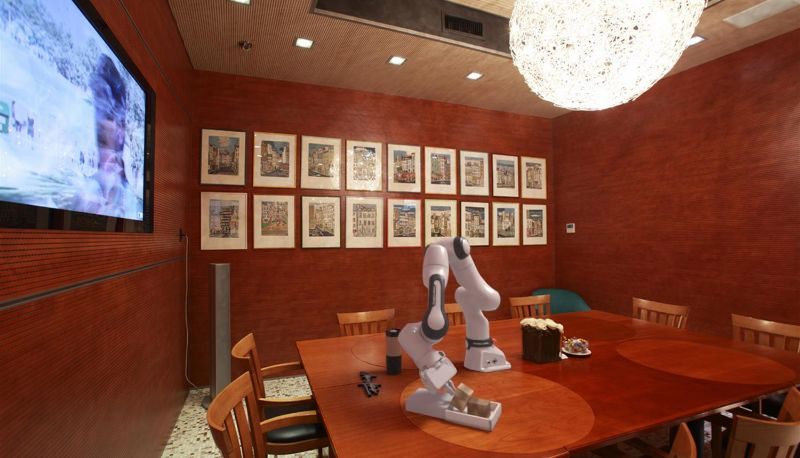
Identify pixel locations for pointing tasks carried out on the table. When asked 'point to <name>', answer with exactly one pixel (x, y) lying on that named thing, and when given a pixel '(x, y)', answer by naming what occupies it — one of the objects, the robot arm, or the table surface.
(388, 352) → the travel mug
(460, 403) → the oak block
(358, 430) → the table surface
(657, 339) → the table surface
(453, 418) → the tray
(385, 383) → the table surface
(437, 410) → the white box cover
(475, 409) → the walnut block
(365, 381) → the nameplate
